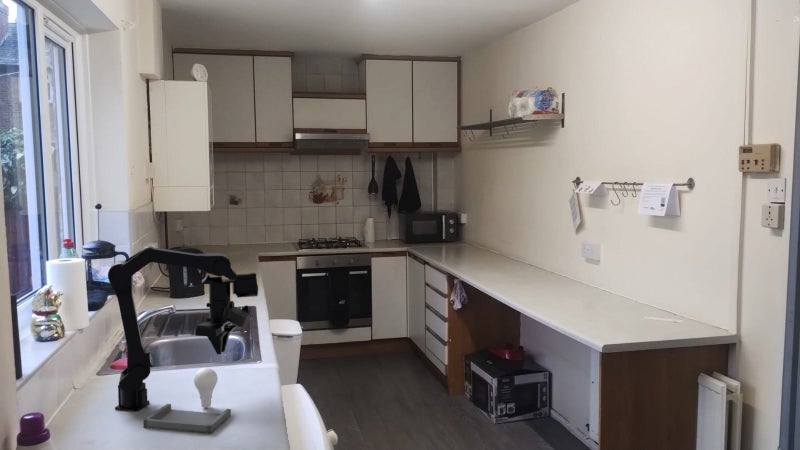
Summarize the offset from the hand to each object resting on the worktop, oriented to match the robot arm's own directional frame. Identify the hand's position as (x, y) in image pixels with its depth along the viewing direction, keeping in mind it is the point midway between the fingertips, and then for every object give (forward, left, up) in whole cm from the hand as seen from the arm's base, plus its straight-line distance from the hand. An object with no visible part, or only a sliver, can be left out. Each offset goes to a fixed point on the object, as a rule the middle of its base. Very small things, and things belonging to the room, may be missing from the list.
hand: (220, 353), depth 176 cm
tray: (0, -18, -12) cm, 22 cm away
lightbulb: (0, -9, -13) cm, 16 cm away
